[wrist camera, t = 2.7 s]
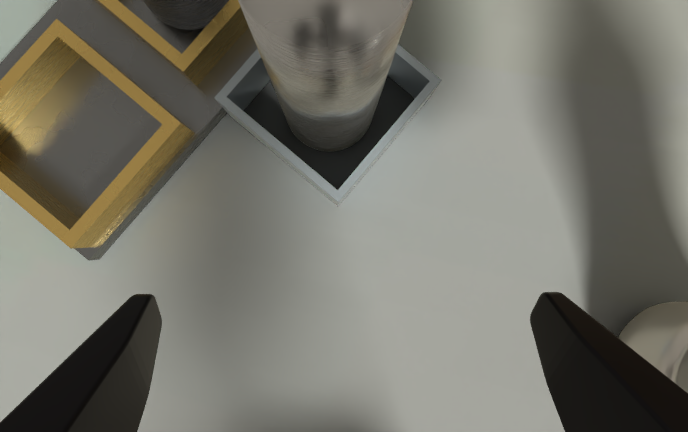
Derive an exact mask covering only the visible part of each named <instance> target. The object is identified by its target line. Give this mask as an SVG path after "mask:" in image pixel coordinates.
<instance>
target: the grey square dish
mask: <svg viewBox="0 0 688 432" xmlns="http://www.w3.org/2000/svg"><path fill="white" fill-rule="evenodd" d="M388 76H389V77H390V78H391V79H392V80H394V81H395V82H396V83H397V84H398V85H400V86H401V87H402V88H403V89H404V90H405V91H407V92H408V93H409V94H410V95H411V96H413V97H414V98H415V99H414V100H413V102H412V103H411V104H410V105H409V106H408V108H407V109H406V110H405V111H404V112H403V113H402V115H401V116H400V117H399V118H398V119H397V121H396V122H395V123H394V124H393V125H392V126H391V128H390V129H389V130H388V131H387V132H386V134H385V135H384V136H383V137H382V138H381V140H380V141H379V142H378V143H377V144H376V145H375V147H374V148H373V149H372V150H371V151H370V153H369V154H368V155H367V156H366V157H365V158H364V160H363V161H362V162H361V163H360V164H359V166H358V167H357V168H356V169H355V170H354V172H353V173H352V174H351V175H350V176H349V177H348V179H347V180H346V181H345V182H344V183H343V185H342V186H341V187H340V188H339V189H338V190H337V189H336V188H334V187H333V186H332V185H331V184H330V183H328V182H327V181H326V180H325V179H324V178H323V177H321V176H320V175H319V174H318V173H317V172H315V171H314V170H313V169H312V168H311V167H309V166H308V165H307V164H306V163H305V162H303V161H302V160H301V159H300V158H299V157H298V156H296V155H295V154H294V153H293V152H292V151H290V150H289V149H288V148H287V147H286V146H284V145H283V144H282V143H281V142H280V141H278V140H277V139H276V138H275V137H274V136H272V135H271V134H270V133H269V132H268V131H267V130H265V129H264V128H263V127H262V126H261V125H259V124H258V123H257V122H256V121H255V120H253V119H252V118H251V117H250V116H249V115H247V114H246V113H245V112H244V110H245V108H246V107H247V106H248V105H249V104H250V103H251V101H252V100H253V99H254V98H255V97H256V96H257V95H258V93H259V92H260V91H261V90H262V89H263V88H264V87H265V85H266V84H267V83H268V82H269V81H270V78H269V76H268V73H267V71H266V68H265V66H264V63H263V61H262V58H261V56H260V53H259V51H258V48H257V49H256V51H255V52H254V53H253V54H252V55H251V56H250V57H249V59H248V60H247V61H246V62H245V63H244V64H243V65H242V67H241V68H240V69H239V70H238V71H237V72H236V73H235V75H234V76H233V77H232V78H231V79H230V80H229V82H228V83H227V84H226V85H225V86H224V87H223V88H222V90H221V91H220V92H219V93H218V94H217V95H216V96H215V99H216V100H217V102H218V103H219V104H220V105H221V106H222V107H223V108H224V110H225V111H226V112H227V113H228V114H229V115H230V116H231V117H232V118H233V119H234V120H236V121H237V122H238V123H239V124H240V125H242V126H243V127H244V128H245V129H246V130H248V131H249V132H250V133H251V134H252V135H253V136H255V137H256V138H257V139H258V140H259V141H261V142H262V143H263V144H264V145H265V146H267V147H268V148H269V149H270V150H271V151H273V152H274V153H275V154H276V155H277V156H279V157H280V158H281V159H282V160H283V161H284V162H286V163H287V164H288V165H289V166H290V167H292V168H293V169H294V170H295V171H296V172H298V173H299V174H300V175H301V176H302V177H304V178H305V179H306V180H307V181H308V182H309V183H311V184H312V185H313V186H314V187H315V188H317V189H318V190H319V191H320V192H321V193H323V194H324V195H325V196H326V197H327V198H329V199H330V200H331V201H332V202H333V203H335V204H336V205H337V206H339V205H340V203H341V202H342V201H343V200H344V199H345V197H346V196H347V195H348V194H349V193H350V192H351V190H352V189H353V188H354V187H355V186H356V184H357V183H358V182H359V181H360V180H361V178H362V177H363V176H364V175H365V174H366V173H367V171H368V170H369V169H370V168H371V167H372V165H373V164H374V163H375V162H376V161H377V159H378V158H379V157H380V156H381V155H382V154H383V152H384V151H385V150H386V149H387V148H388V146H389V145H390V144H391V143H392V142H393V141H394V139H395V138H396V137H397V136H398V135H399V133H400V132H401V131H402V130H403V129H404V127H405V126H406V125H407V124H408V123H409V122H410V120H411V119H412V118H413V117H414V116H415V114H416V113H417V112H418V111H419V110H420V108H421V107H422V106H423V105H424V104H425V103H426V101H427V100H428V99H429V97H430V96H431V95H432V93H433V92H434V90H435V89H436V87H437V86H438V85H439V83H440V82H441V79H440V78H439V77H437V76H436V75H435V74H434V73H433V72H431V71H430V70H429V69H428V68H427V67H425V66H424V65H423V64H422V63H421V62H419V61H418V60H417V59H416V58H415V57H413V56H412V55H411V54H410V53H409V52H407V51H406V50H405V49H404V48H403V47H401V46H400V45H399V44H398V46H397V49H396V52H395V55H394V58H393V61H392V63H391V66H390V69H389V72H388Z"/></svg>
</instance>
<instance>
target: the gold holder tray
mask: <svg viewBox="0 0 688 432" xmlns="http://www.w3.org/2000/svg"><path fill="white" fill-rule="evenodd" d="M256 49H257V46H256V43H255V41H254V38H253V36H252V33H251V31H250V29H249V26H248V24H247V21H246V19H245V16H244V14H243V11H242V9H241V6H240V4H239V1H238V0H229V1H228V3H227V4H226V5H225V6H224V7H223V8H222V9H221V10H220V12H219V13H218V14H217V15H216V16H215V17H214V18H213V19H212V21H211V22H210V23H209V24H208V25H207V26H206V27H204V28H200V29H194V30H184V29H178V28H174V27H171V26H169V25H167V24H165V23H163V22H162V21H161V20H159V19H158V18H157V17H156V16H155V15H154V14H153V13H152V12H151V10H150V9H149V8H148V7H147V5H146V4H145V3H144V2H143V1H142V0H58V1H57V2H56V3H55V4H54V5H53V7H52V8H51V9H50V10H49V11H48V12H47V13H46V14H45V15H44V16H43V18H42V19H41V20H40V21H39V22H38V23H37V24H36V25H35V26H34V27H33V28H32V30H31V31H30V32H29V33H28V34H27V35H26V36H25V37H24V38H23V39H22V41H21V42H20V43H19V44H18V45H17V46H16V47H15V48H14V49H13V50H12V52H11V53H10V54H9V55H8V56H7V57H6V58H5V59H4V60H3V61H2V62H1V64H0V189H1V190H2V191H4V192H5V193H6V194H7V195H8V196H9V197H11V198H12V199H13V200H14V201H15V202H17V203H18V204H19V205H20V206H21V207H22V208H24V209H25V210H26V211H27V212H28V213H30V214H31V215H32V216H33V217H34V218H35V219H37V220H38V221H39V222H40V223H41V224H43V225H44V226H45V227H46V228H47V229H49V230H50V231H51V232H52V233H53V234H54V235H56V236H57V237H58V238H59V239H60V240H62V241H63V242H64V243H65V244H66V245H67V246H69V247H70V248H75V249H76V250H77V251H78V252H79V253H80V254H82V255H83V256H84V257H85V258H86V259H88V260H97V259H100V258H101V257H102V256H103V255H104V253H105V252H106V251H107V250H108V249H109V248H110V246H111V245H112V244H113V243H114V242H115V241H116V240H117V238H118V237H119V236H120V235H121V234H122V233H123V232H124V230H125V229H126V228H127V227H128V226H129V225H130V224H131V222H132V221H133V220H134V219H135V218H136V217H137V215H138V214H139V213H140V212H141V211H142V210H143V209H144V207H145V206H146V205H147V204H148V203H149V202H150V201H151V199H152V198H153V197H154V196H155V195H156V194H157V193H158V191H159V190H160V189H161V188H162V187H163V186H164V184H165V183H166V182H167V181H168V180H169V179H170V178H171V176H172V175H173V174H174V173H175V172H176V171H177V170H178V168H179V167H180V166H181V165H182V164H183V163H184V162H185V160H186V159H187V158H188V157H189V156H190V155H191V153H192V152H193V151H194V150H195V149H196V148H197V147H198V145H199V144H200V143H201V142H202V141H203V140H204V139H205V137H206V136H207V135H208V134H209V133H210V132H211V130H212V129H213V128H214V127H215V126H216V125H217V124H218V122H219V121H220V120H221V119H222V118H223V117H224V116H225V114H226V113H227V112H226V111H225V110H224V108H223V107H222V106H221V105H220V104H219V103H218V102H217V100H216V99H215V96H216V95H217V94H218V93H219V92H220V91H221V90H222V88H223V87H224V86H225V85H226V84H227V83H228V82H229V80H230V79H231V78H232V77H233V76H234V75H235V73H236V72H237V71H238V70H239V69H240V68H241V67H242V65H243V64H244V63H245V62H246V61H247V60H248V59H249V57H250V56H251V55H252V54H253V53H254V52H255V51H256Z"/></svg>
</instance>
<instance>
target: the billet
mask: <svg viewBox="0 0 688 432" xmlns="http://www.w3.org/2000/svg"><path fill="white" fill-rule="evenodd" d="M238 1H239V4H240V6H241V9H242V11H243V14H244V16H245V19H246V21H247V24H248V26H249V29H250V31H251V33H252V36H253V38H254V41H255V43H256V46H257V48H258V51H259V53H260V56H261V58H262V61H263V63H264V66H265V68H266V71H267V73H268V76H269V78H270V80H271V83H272V85H273V88H274V90H275V93H276V95H277V98H278V100H279V103H280V105H281V108H282V110H283V113H284V115H285V118H286V120H287V122H288V125H289V127H290V129H291V131H292V132H293V134H294V135H295V136H296V137H297V138H298V139H299V140H300V141H301V142H302V143H304V144H305V145H307V146H309V147H311V148H313V149H316V150H320V151H326V152H333V151H340V150H343V149H346V148H348V147H350V146H352V145H354V144H355V143H357V142H358V141H359V140H360V139H361V138H362V137H363V136H364V135H365V133H366V132H367V130H368V128H369V127H370V124H371V121H372V119H373V116H374V113H375V110H376V107H377V104H378V101H379V98H380V95H381V92H382V90H383V87H384V84H385V81H386V78H387V75H388V72H389V69H390V66H391V63H392V61H393V58H394V55H395V52H396V49H397V46H398V43H399V40H400V37H401V34H402V32H403V29H404V26H405V23H406V20H407V17H408V14H409V11H410V8H411V5H412V2H413V0H238Z"/></svg>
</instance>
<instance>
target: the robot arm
mask: <svg viewBox="0 0 688 432" xmlns="http://www.w3.org/2000/svg"><path fill="white" fill-rule="evenodd" d="M530 323H531V327H532V331H533V334H534V338H535V342H536V346H537V349H538V353H539V357H540V361H541V365H542V368H543V372H544V376H545V379H546V382H547V385H548V388H549V391H550V393H551V396H552V399H553V401H554V404H555V406H556V409H557V412H558V414H559V417H560V420H561V422H562V425H563V427H564V430H565V432H688V393H687V392H686V391H685V390H683V389H682V388H681V387H679V386H678V385H677V384H676V383H674V382H673V381H672V380H671V379H669V378H668V377H667V376H666V375H664V374H663V373H662V372H661V371H659V370H658V369H657V368H656V367H654V366H653V365H652V364H650V363H649V362H648V361H647V360H645V359H644V358H643V357H642V356H640V355H639V354H638V353H637V352H635V351H634V350H633V349H632V348H630V347H629V346H628V345H626V344H625V343H624V342H623V341H621V340H620V339H619V338H618V337H616V336H615V335H614V334H613V333H611V332H610V331H609V330H608V329H606V328H605V327H604V326H603V325H601V324H600V323H599V322H597V321H596V320H595V319H594V318H592V317H591V316H590V315H589V314H587V313H586V312H585V311H584V310H582V309H581V308H580V307H579V306H577V305H576V304H575V303H573V302H572V301H571V300H570V299H568V298H567V297H566V296H565V295H563V294H562V293H559V292H544V293H542V294H541V295H540V297H539V299H538V301H537V303H536V305H535V307H534V308H533V310H532V312H531V316H530ZM161 326H162V319H161V315H160V312H159V308H158V305H157V302H156V299H155V297H154V296H153V295H151V294H136V295H133V296H132V297H130V298H129V299H128V300H127V301H126V302H125V303H124V304H123V305H122V306H121V307H120V308H119V309H118V310H117V311H116V312H115V313H114V314H113V315H112V316H111V317H109V318H108V319H107V320H106V321H105V322H104V323H103V324H102V325H101V326H100V327H99V328H98V329H97V330H96V331H95V332H94V333H93V334H92V335H91V336H90V337H89V338H88V339H87V340H86V341H84V342H83V343H82V344H81V345H80V346H79V347H78V348H77V349H76V350H75V351H74V352H73V353H72V354H71V355H70V356H69V357H68V358H67V359H66V360H65V361H64V362H63V363H62V364H61V365H60V366H58V367H57V368H56V369H55V370H54V371H53V372H52V373H51V374H50V375H49V376H48V377H47V378H46V379H45V380H44V381H43V382H42V383H41V384H40V385H39V386H38V387H37V388H36V389H35V390H33V391H32V392H31V393H30V394H29V395H28V396H27V397H26V398H25V399H24V400H23V401H22V402H21V403H20V404H19V405H18V406H17V407H16V408H15V409H14V410H13V411H12V412H11V413H10V414H8V415H7V416H6V417H5V418H4V419H3V420H2V421H1V422H0V432H137V430H138V427H139V424H140V421H141V418H142V414H143V411H144V408H145V405H146V401H147V398H148V394H149V390H150V385H151V380H152V375H153V370H154V364H155V359H156V354H157V348H158V343H159V337H160V332H161Z"/></svg>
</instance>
